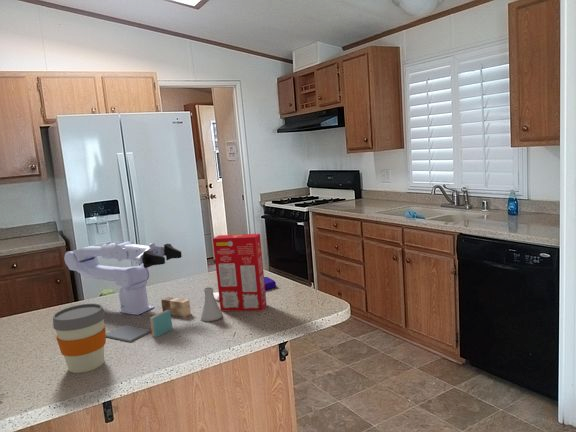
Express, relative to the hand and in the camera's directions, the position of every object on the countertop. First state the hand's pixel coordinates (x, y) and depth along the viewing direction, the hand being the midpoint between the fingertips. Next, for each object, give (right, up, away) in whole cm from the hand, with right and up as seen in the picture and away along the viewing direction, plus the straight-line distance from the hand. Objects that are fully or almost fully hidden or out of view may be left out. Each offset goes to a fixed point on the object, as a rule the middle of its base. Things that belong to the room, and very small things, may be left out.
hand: (172, 257), depth 153 cm
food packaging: (+23, -18, +6) cm, 30 cm away
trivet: (-12, -23, -9) cm, 27 cm away
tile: (-1, -22, -9) cm, 24 cm away
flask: (+13, -20, 0) cm, 24 cm away
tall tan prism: (0, -20, +6) cm, 21 cm away
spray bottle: (+21, -16, +25) cm, 36 cm away
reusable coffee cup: (-16, -27, -28) cm, 42 cm away
